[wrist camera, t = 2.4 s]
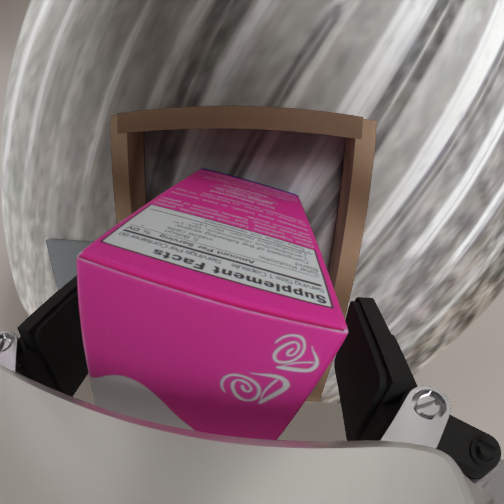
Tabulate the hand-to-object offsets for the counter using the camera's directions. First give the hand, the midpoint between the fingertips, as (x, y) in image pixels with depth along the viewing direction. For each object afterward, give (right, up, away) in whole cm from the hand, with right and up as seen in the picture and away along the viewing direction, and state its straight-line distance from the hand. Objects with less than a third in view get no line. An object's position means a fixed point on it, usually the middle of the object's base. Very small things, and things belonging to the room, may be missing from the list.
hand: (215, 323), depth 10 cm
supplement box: (+1, +4, +7) cm, 8 cm away
